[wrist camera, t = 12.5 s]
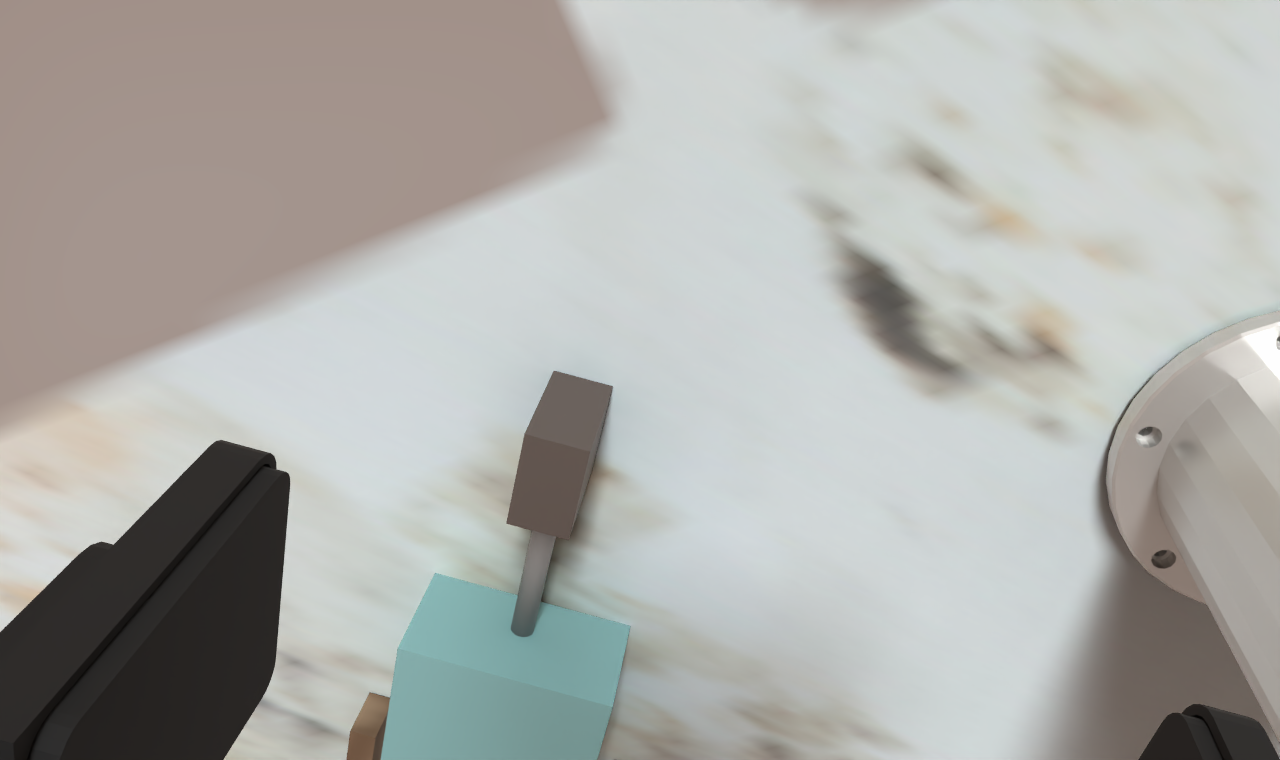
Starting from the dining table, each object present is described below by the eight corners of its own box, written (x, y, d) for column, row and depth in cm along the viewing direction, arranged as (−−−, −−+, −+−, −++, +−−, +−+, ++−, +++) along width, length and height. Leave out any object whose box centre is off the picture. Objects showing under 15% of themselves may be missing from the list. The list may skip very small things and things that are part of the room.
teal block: (693, 408, 42) (680, 476, 38) (598, 734, 51) (579, 821, 46) (473, 349, 42) (434, 410, 38) (416, 685, 51) (379, 766, 46)
